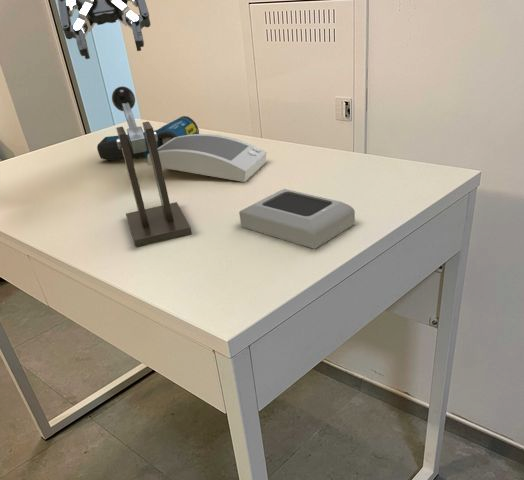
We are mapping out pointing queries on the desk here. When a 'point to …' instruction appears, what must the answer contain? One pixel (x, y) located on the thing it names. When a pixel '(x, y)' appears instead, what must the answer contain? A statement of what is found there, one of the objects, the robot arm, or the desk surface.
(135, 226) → the latch bracket
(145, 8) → the robot arm
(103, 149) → the infrared thermometer
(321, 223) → the grey flat block
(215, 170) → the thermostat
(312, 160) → the desk surface
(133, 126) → the latch lever
